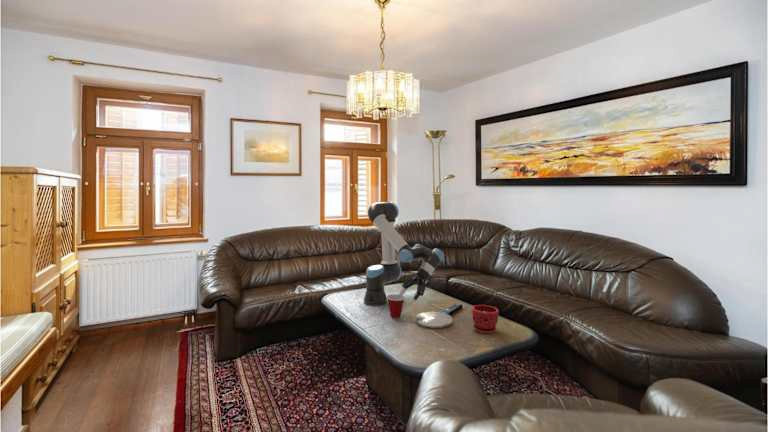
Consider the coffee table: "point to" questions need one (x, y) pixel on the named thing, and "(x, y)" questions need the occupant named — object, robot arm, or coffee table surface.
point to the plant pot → (485, 318)
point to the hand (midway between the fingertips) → (404, 300)
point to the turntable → (434, 319)
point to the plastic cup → (395, 304)
